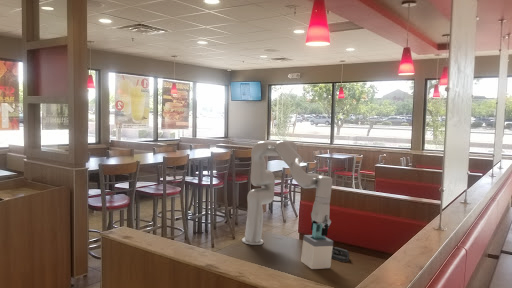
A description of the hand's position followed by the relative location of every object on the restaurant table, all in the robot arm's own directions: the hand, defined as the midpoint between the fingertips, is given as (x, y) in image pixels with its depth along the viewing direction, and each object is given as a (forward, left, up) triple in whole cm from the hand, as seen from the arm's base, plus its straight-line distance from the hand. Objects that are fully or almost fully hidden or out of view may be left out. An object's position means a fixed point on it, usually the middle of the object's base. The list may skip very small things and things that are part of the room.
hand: (318, 232), depth 205 cm
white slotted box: (0, 0, -17) cm, 17 cm away
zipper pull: (-14, +17, -17) cm, 27 cm away
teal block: (0, 0, -5) cm, 5 cm away
